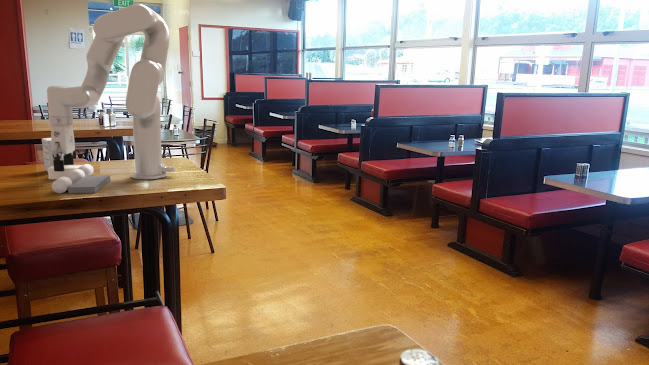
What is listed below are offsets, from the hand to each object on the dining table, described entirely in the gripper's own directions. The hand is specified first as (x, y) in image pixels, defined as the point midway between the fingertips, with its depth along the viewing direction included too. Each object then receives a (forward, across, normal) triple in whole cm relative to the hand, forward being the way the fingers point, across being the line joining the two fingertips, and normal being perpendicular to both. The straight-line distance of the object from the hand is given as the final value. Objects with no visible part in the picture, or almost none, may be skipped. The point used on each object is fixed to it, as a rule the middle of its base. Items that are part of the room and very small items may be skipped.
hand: (64, 168), depth 178 cm
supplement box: (+4, +12, +6) cm, 14 cm away
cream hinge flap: (+3, 0, -2) cm, 4 cm away
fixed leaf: (+3, -16, -12) cm, 20 cm away
